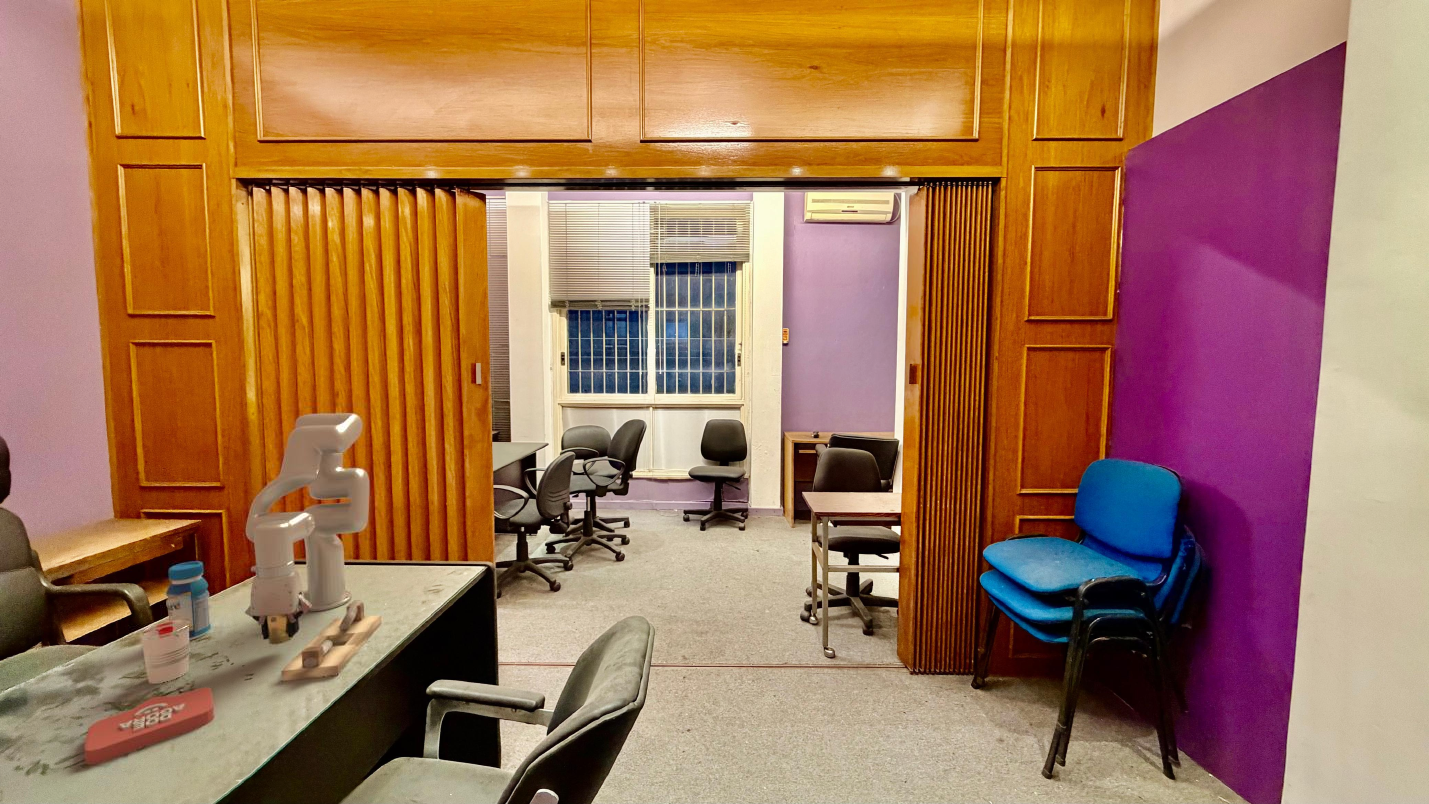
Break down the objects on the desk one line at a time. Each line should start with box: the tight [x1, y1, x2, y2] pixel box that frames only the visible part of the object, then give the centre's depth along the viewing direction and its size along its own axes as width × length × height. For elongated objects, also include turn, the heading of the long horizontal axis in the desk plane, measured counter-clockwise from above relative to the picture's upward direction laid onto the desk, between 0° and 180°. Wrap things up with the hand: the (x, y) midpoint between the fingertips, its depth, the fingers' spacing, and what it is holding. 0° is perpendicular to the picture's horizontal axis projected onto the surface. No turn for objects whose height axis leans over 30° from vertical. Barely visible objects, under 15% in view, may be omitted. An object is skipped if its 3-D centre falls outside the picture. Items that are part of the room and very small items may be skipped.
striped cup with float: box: [139, 620, 190, 685], centre depth 128 cm, size 10×8×12 cm
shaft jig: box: [280, 599, 382, 682], centre depth 140 cm, size 12×26×8 cm, turn 12°
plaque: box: [84, 687, 215, 766], centre depth 111 cm, size 18×4×15 cm
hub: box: [267, 614, 294, 645], centre depth 137 cm, size 5×6×8 cm
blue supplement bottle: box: [165, 560, 212, 641], centre depth 146 cm, size 8×8×20 cm
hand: (281, 635), depth 138 cm, fingers closed on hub, 5 cm apart
